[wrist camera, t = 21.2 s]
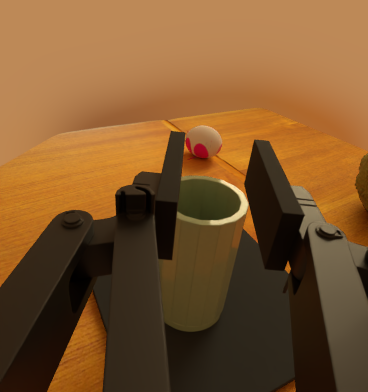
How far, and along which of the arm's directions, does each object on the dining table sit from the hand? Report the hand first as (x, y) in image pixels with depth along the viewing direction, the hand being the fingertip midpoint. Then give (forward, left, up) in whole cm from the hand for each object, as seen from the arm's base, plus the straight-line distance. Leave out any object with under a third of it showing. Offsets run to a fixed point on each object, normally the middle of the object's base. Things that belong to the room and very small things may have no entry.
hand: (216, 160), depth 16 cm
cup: (+2, +4, -17) cm, 18 cm away
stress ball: (+20, +33, -18) cm, 43 cm away
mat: (+4, +3, -18) cm, 19 cm away
